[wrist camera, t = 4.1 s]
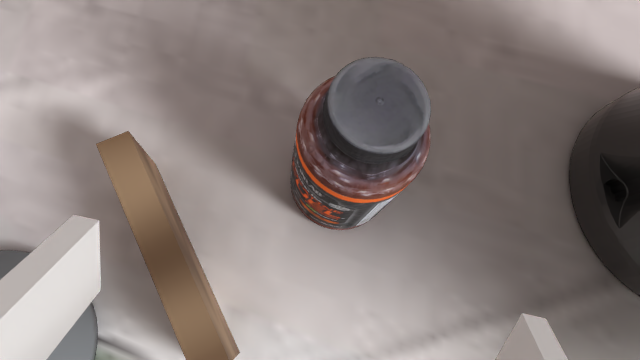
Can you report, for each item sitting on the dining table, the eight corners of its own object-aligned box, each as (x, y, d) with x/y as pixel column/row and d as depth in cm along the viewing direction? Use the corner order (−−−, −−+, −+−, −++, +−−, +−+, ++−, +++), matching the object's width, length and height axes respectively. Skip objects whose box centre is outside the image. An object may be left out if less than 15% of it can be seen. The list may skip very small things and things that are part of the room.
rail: (129, 175, 26) (96, 144, 21) (155, 164, 26) (128, 130, 21) (212, 367, 23) (195, 382, 18) (239, 352, 23) (230, 362, 19)
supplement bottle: (269, 190, 26) (264, 106, 16) (329, 122, 28) (362, 4, 17) (346, 253, 26) (397, 210, 15) (403, 180, 27) (486, 93, 17)
